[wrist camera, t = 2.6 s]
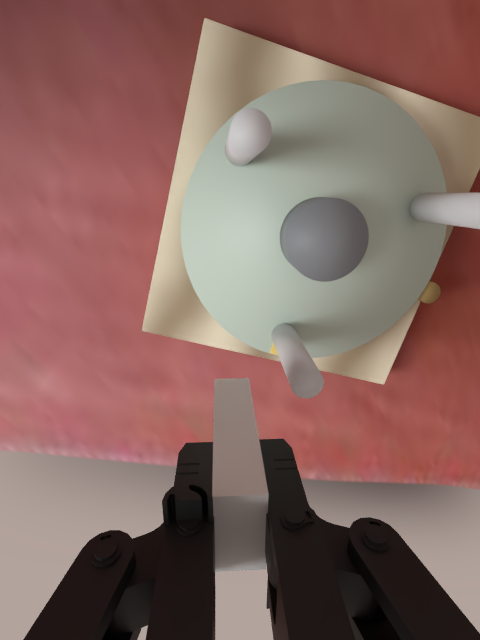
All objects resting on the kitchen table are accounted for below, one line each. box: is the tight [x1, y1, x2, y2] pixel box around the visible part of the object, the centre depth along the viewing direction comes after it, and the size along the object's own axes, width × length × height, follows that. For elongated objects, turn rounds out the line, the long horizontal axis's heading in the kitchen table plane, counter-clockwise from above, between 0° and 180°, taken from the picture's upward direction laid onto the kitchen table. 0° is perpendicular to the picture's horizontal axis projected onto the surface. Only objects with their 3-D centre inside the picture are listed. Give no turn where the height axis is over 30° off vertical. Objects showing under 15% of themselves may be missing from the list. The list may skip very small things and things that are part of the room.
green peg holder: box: [181, 80, 480, 398], centre depth 19 cm, size 16×16×8 cm
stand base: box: [142, 18, 480, 384], centre depth 23 cm, size 18×18×3 cm
